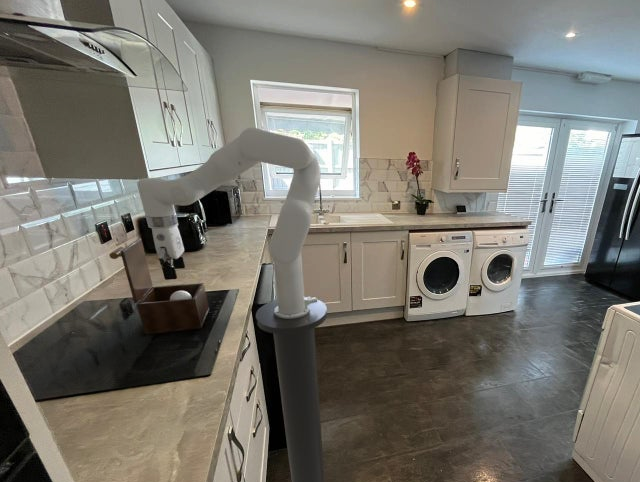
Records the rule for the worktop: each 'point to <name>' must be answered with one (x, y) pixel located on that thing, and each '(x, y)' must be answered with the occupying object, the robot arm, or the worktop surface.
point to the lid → (135, 268)
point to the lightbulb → (180, 295)
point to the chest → (173, 309)
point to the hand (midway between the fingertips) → (175, 273)
